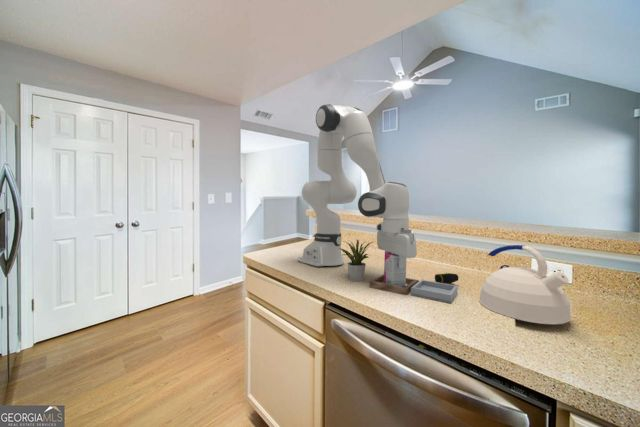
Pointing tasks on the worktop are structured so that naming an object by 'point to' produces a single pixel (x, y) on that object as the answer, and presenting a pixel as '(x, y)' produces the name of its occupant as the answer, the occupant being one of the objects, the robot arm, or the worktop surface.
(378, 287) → the brown square frame
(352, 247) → the house plant
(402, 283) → the supplement box
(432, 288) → the grey tray
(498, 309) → the kettle
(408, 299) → the worktop surface
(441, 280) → the tape measure
